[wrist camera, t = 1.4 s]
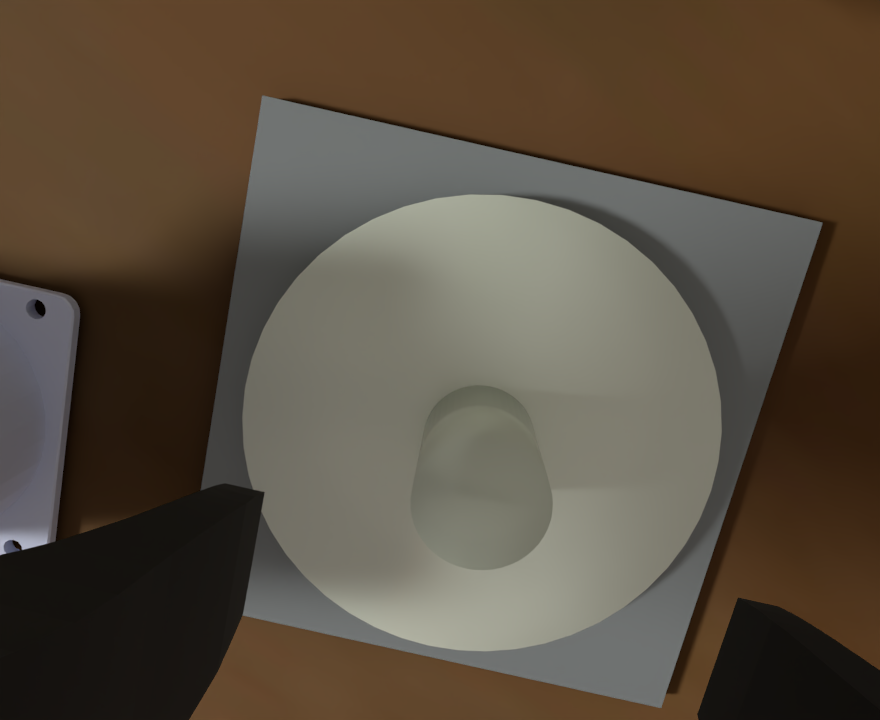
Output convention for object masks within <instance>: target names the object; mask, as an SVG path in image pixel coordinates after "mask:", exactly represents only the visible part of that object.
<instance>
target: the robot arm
mask: <svg viewBox="0 0 880 720" xmlns="http://www.w3.org/2000/svg"><path fill="white" fill-rule="evenodd" d="M36 300H39V301H41V302H42V303H43V304H44V306H45V309H46V313H45V315H44V317H43V316H41V315H39V314H38V313H37V311H36V309H35V303H36ZM79 323H80V308H79V306H78V304H77V302H76V301H75V300H74V299H73V298H72V297H71V296H69V295H67V294H64V293H60V292H56V291H51V290H47V289H42V288H38V287H34V286H29V285H25V284H20V283H16V282H11V281H7V280H2V279H0V720H189V719H190V717H191V715H192V714H193V712H194V710H195V709H196V707H197V705H198V704H199V702H200V700H201V699H202V697H203V695H204V694H205V692H206V690H207V689H208V687H209V685H210V684H211V682H212V680H213V679H214V677H215V675H216V673H217V672H218V670H219V667H220V665H221V663H222V661H223V658H224V656H225V654H226V652H227V650H228V647H229V645H230V643H231V641H232V638H233V636H234V634H235V631H236V629H237V627H238V624H239V622H240V620H241V617H242V615H243V612H244V606H245V600H246V595H247V589H248V583H249V578H250V572H251V567H252V561H253V555H254V550H255V544H256V538H257V533H258V527H259V522H260V516H261V510H262V505H263V499H264V493H265V492H262V491H258V490H253V489H249V488H244V487H240V486H235V485H231V484H226V483H223V484H219V485H215V486H212V487H209V488H206V489H204V490H201V491H198V492H196V493H193V494H190V495H188V496H185V497H183V498H180V499H178V500H175V501H172V502H170V503H167V504H164V505H162V506H159V507H157V508H154V509H151V510H149V511H146V512H143V513H141V514H138V515H135V516H133V517H130V518H127V519H124V520H121V521H118V522H115V523H112V524H109V525H106V526H103V527H99V528H96V529H93V530H90V531H87V532H84V533H81V534H78V535H75V536H72V537H69V538H66V539H62V540H58V541H55V540H56V531H57V522H58V513H59V504H60V495H61V486H62V477H63V468H64V459H65V450H66V441H67V432H68V422H69V413H70V404H71V395H72V386H73V377H74V368H75V359H76V350H77V341H78V332H79ZM12 540H15V541H17V542H19V544H20V545H21V547H22V550H19V549H17V548H16V547H15V546H14V545H13V541H12ZM697 715H698V719H699V720H880V670H878V669H877V668H875V667H874V666H872V665H871V664H870V663H868V662H867V661H865V660H864V659H862V658H861V657H859V656H858V655H856V654H855V653H853V652H852V651H850V650H849V649H847V648H846V647H845V646H843V645H842V644H840V643H839V642H837V641H836V640H834V639H833V638H831V637H830V636H828V635H827V634H825V633H823V632H822V631H820V630H819V629H817V628H816V627H814V626H812V625H811V624H809V623H808V622H806V621H804V620H803V619H801V618H799V617H797V616H796V615H794V614H792V613H790V612H788V611H786V610H784V609H782V608H780V607H778V606H773V605H769V604H764V603H760V602H755V601H751V600H746V599H742V598H738V599H737V602H736V605H735V608H734V611H733V614H732V617H731V619H730V622H729V625H728V628H727V631H726V634H725V637H724V640H723V642H722V645H721V648H720V651H719V654H718V657H717V660H716V663H715V666H714V668H713V671H712V674H711V677H710V680H709V683H708V686H707V689H706V691H705V694H704V697H703V700H702V703H701V706H700V709H699V712H698V714H697Z"/></svg>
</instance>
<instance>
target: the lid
mask: <svg viewBox="0 0 880 720" xmlns="http://www.w3.org/2000/svg"><path fill="white" fill-rule="evenodd" d="M242 423H243V446H244V452H245V458H246V463H247V469H248V474H249V478H250V481H251V484H252V487H253V490H258V491H262V492H265V493H264V499H263V505H262V510H261V512H262V514H263V516H264V518H265V520H266V522H267V524H268V526H269V528H270V530H271V532H272V533H273V535H274V537H275V538H276V540H277V541H278V543H279V544H280V546H281V547H282V549H283V551H284V552H285V554H286V555H287V556H288V557H289V558H290V560H291V561H292V562H293V563H294V564H295V566H296V567H297V568H298V569H299V570H300V572H301V573H302V574H303V575H304V576H305V577H306V578H307V579H308V580H309V581H310V582H311V583H312V584H313V585H314V586H315V587H316V588H318V589H319V590H320V591H321V592H322V593H323V594H324V595H325V596H326V597H328V598H329V599H330V600H332V601H333V602H335V603H336V604H337V605H339V606H340V607H341V608H343V609H344V610H346V611H347V612H348V613H350V614H352V615H354V616H355V617H357V618H359V619H361V620H363V621H364V622H366V623H368V624H370V625H372V626H373V627H376V628H378V629H380V630H383V631H385V632H388V633H390V634H393V635H395V636H397V637H400V638H403V639H407V640H410V641H414V642H417V643H421V644H425V645H428V646H434V647H440V648H447V649H453V650H464V651H499V650H512V649H519V648H525V647H530V646H535V645H540V644H545V643H548V642H551V641H554V640H557V639H560V638H564V637H567V636H570V635H573V634H575V633H577V632H579V631H582V630H584V629H586V628H588V627H590V626H593V625H595V624H597V623H599V622H601V621H602V620H604V619H606V618H607V617H609V616H611V615H612V614H614V613H615V612H617V611H619V610H620V609H622V608H624V607H625V606H626V605H627V604H629V603H630V602H631V601H632V600H634V599H635V598H636V597H638V596H639V595H640V594H641V593H643V592H644V591H645V590H646V589H647V588H648V587H649V586H650V585H651V584H652V583H653V582H654V581H655V580H656V579H657V578H658V577H659V576H660V575H661V574H662V573H663V572H664V571H665V570H666V569H667V568H668V567H669V565H670V564H671V563H672V561H673V560H674V559H675V557H676V556H677V555H678V553H679V552H680V551H681V549H682V548H683V547H684V545H685V544H686V542H687V541H688V539H689V537H690V535H691V534H692V532H693V530H694V528H695V526H696V525H697V523H698V521H699V519H700V517H701V515H702V512H703V510H704V507H705V505H706V502H707V500H708V497H709V495H710V492H711V489H712V485H713V482H714V478H715V474H716V470H717V466H718V462H719V452H720V443H721V434H722V423H721V399H720V393H719V388H718V382H717V376H716V370H715V367H714V364H713V361H712V358H711V355H710V352H709V349H708V346H707V343H706V340H705V338H704V336H703V334H702V332H701V330H700V328H699V326H698V324H697V322H696V319H695V317H694V315H693V313H692V312H691V310H690V309H689V307H688V306H687V304H686V303H685V301H684V300H683V298H682V297H681V295H680V294H679V292H678V291H677V289H676V288H675V286H674V285H673V284H672V283H671V282H670V281H669V280H668V279H667V278H666V276H665V275H664V274H663V273H662V272H661V271H660V270H659V269H658V268H657V266H656V265H655V264H654V263H653V262H652V261H651V260H649V259H648V258H647V257H646V256H645V255H643V254H642V253H641V252H640V251H639V250H638V249H636V248H635V247H634V246H633V245H632V244H630V243H629V242H628V241H627V240H625V239H623V238H622V237H620V236H619V235H617V234H615V233H614V232H612V231H611V230H609V229H607V228H606V227H604V226H603V225H601V224H599V223H597V222H595V221H593V220H591V219H588V218H586V217H584V216H582V215H580V214H577V213H575V212H573V211H571V210H568V209H565V208H561V207H558V206H555V205H551V204H548V203H544V202H541V201H538V200H532V199H526V198H519V197H513V196H506V195H473V194H469V195H461V196H452V197H443V198H436V199H432V200H428V201H424V202H420V203H416V204H412V205H408V206H404V207H402V208H399V209H397V210H394V211H392V212H389V213H387V214H384V215H382V216H379V217H377V218H374V219H372V220H370V221H369V222H367V223H365V224H363V225H362V226H360V227H358V228H356V229H355V230H353V231H351V232H349V233H348V234H346V235H344V236H343V237H342V238H340V239H339V240H338V241H337V242H335V243H334V244H333V245H331V246H330V247H329V248H327V249H326V250H325V251H323V252H322V253H321V254H320V255H318V256H317V257H316V259H315V260H314V261H313V262H312V263H311V264H310V265H309V266H308V267H307V268H306V269H305V270H304V271H303V272H302V273H301V274H300V275H299V276H298V277H297V278H296V279H295V280H294V282H293V283H292V284H291V286H290V287H289V288H288V290H287V291H286V292H285V294H284V295H283V296H282V298H281V299H280V300H279V302H278V303H277V305H276V307H275V309H274V311H273V312H272V314H271V316H270V318H269V320H268V321H267V323H266V325H265V327H264V329H263V331H262V333H261V336H260V338H259V341H258V344H257V346H256V349H255V351H254V354H253V357H252V360H251V364H250V368H249V373H248V377H247V381H246V385H245V393H244V404H243V415H242Z"/></svg>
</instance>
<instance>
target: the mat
mask: <svg viewBox="0 0 880 720" xmlns="http://www.w3.org/2000/svg"><path fill="white" fill-rule="evenodd" d="M469 194H473V195H506V196H513V197H519V198H526V199H532V200H538V201H541V202H544V203H548V204H551V205H555V206H558V207H561V208H565V209H568V210H571V211H573V212H575V213H577V214H580V215H582V216H584V217H586V218H588V219H591V220H593V221H595V222H597V223H599V224H601V225H603V226H604V227H606V228H607V229H609V230H611V231H612V232H614V233H615V234H617V235H619V236H620V237H622V238H623V239H625V240H627V241H628V242H629V243H630V244H632V245H633V246H634V247H635V248H636V249H638V250H639V251H640V252H641V253H642V254H643V255H645V256H646V257H647V258H648V259H649V260H651V261H652V262H653V263H654V264H655V265H656V266H657V268H658V269H659V270H660V271H661V272H662V273H663V274H664V275H665V276H666V278H667V279H668V280H669V281H670V282H671V283H672V284H673V285H674V286H675V288H676V289H677V291H678V292H679V294H680V295H681V297H682V298H683V300H684V301H685V303H686V304H687V306H688V307H689V309H690V310H691V312H692V313H693V315H694V317H695V319H696V322H697V324H698V326H699V328H700V330H701V332H702V334H703V336H704V338H705V340H706V343H707V346H708V349H709V352H710V355H711V358H712V361H713V364H714V367H715V370H716V376H717V382H718V388H719V393H720V399H721V423H722V434H721V443H720V452H719V462H718V466H717V470H716V474H715V478H714V482H713V485H712V489H711V492H710V495H709V497H708V500H707V502H706V505H705V507H704V510H703V512H702V515H701V517H700V519H699V521H698V523H697V525H696V526H695V528H694V530H693V532H692V534H691V535H690V537H689V539H688V541H687V542H686V544H685V545H684V547H683V548H682V549H681V551H680V552H679V553H678V555H677V556H676V557H675V559H674V560H673V561H672V563H671V564H670V565H669V567H668V568H667V569H666V570H665V571H664V572H663V573H662V574H661V575H660V576H659V577H658V578H657V579H656V580H655V581H654V582H653V583H652V584H651V585H650V586H649V587H648V588H647V589H646V590H645V591H644V592H643V593H641V594H640V595H639V596H638V597H636V598H635V599H634V600H632V601H631V602H630V603H629V604H627V605H626V606H625V607H624V608H622V609H620V610H619V611H617V612H615V613H614V614H612V615H611V616H609V617H607V618H606V619H604V620H602V621H601V622H599V623H597V624H595V625H593V626H590V627H588V628H586V629H584V630H582V631H579V632H577V633H575V634H573V635H570V636H567V637H564V638H560V639H557V640H554V641H551V642H548V643H545V644H540V645H535V646H530V647H525V648H519V649H512V650H499V651H464V650H453V649H447V648H440V647H434V646H428V645H425V644H421V643H417V642H414V641H410V640H407V639H403V638H400V637H397V636H395V635H393V634H390V633H388V632H385V631H383V630H380V629H378V628H376V627H373V626H372V625H370V624H368V623H366V622H364V621H363V620H361V619H359V618H357V617H355V616H354V615H352V614H350V613H348V612H347V611H346V610H344V609H343V608H341V607H340V606H339V605H337V604H336V603H335V602H333V601H332V600H330V599H329V598H328V597H326V596H325V595H324V594H323V593H322V592H321V591H320V590H319V589H318V588H316V587H315V586H314V585H313V584H312V583H311V582H310V581H309V580H308V579H307V578H306V577H305V576H304V575H303V574H302V573H301V572H300V570H299V569H298V568H297V567H296V566H295V564H294V563H293V562H292V561H291V560H290V558H289V557H288V556H287V555H286V554H285V552H284V551H283V549H282V547H281V546H280V544H279V543H278V541H277V540H276V538H275V537H274V535H273V533H272V532H271V530H270V528H269V526H268V524H267V522H266V520H265V518H264V516H263V514H262V512H261V516H260V522H259V527H258V533H257V538H256V544H255V550H254V555H253V561H252V567H251V572H250V578H249V583H248V589H247V595H246V600H245V606H244V612H243V616H248V617H252V618H257V619H261V620H266V621H270V622H275V623H279V624H284V625H288V626H293V627H297V628H302V629H306V630H311V631H315V632H320V633H324V634H329V635H334V636H338V637H343V638H347V639H352V640H356V641H361V642H365V643H370V644H374V645H379V646H383V647H388V648H392V649H397V650H401V651H406V652H410V653H415V654H419V655H424V656H428V657H433V658H437V659H442V660H446V661H451V662H455V663H460V664H465V665H469V666H474V667H478V668H483V669H487V670H492V671H496V672H501V673H505V674H510V675H514V676H519V677H523V678H528V679H532V680H537V681H541V682H546V683H550V684H555V685H559V686H564V687H568V688H573V689H577V690H582V691H586V692H591V693H595V694H600V695H605V696H609V697H614V698H618V699H623V700H627V701H632V702H636V703H641V704H645V705H650V706H654V707H659V708H661V707H662V704H663V701H664V698H665V695H666V692H667V689H668V686H669V683H670V680H671V677H672V674H673V671H674V668H675V665H676V662H677V659H678V656H679V653H680V650H681V647H682V644H683V641H684V638H685V635H686V632H687V629H688V626H689V623H690V620H691V617H692V614H693V611H694V608H695V605H696V602H697V599H698V596H699V593H700V590H701V587H702V584H703V581H704V578H705V575H706V572H707V569H708V566H709V563H710V560H711V557H712V554H713V551H714V548H715V545H716V542H717V539H718V536H719V533H720V530H721V527H722V524H723V521H724V518H725V515H726V512H727V509H728V506H729V503H730V500H731V497H732V494H733V491H734V488H735V485H736V482H737V479H738V476H739V473H740V470H741V467H742V464H743V461H744V458H745V455H746V452H747V449H748V446H749V443H750V440H751V437H752V434H753V431H754V428H755V425H756V422H757V419H758V416H759V413H760V410H761V407H762V404H763V401H764V398H765V395H766V392H767V389H768V386H769V383H770V380H771V377H772V374H773V371H774V368H775V365H776V362H777V359H778V356H779V353H780V350H781V347H782V344H783V341H784V338H785V335H786V332H787V329H788V326H789V323H790V320H791V317H792V314H793V311H794V308H795V305H796V302H797V299H798V296H799V293H800V290H801V287H802V284H803V281H804V278H805V275H806V272H807V269H808V266H809V263H810V260H811V257H812V254H813V251H814V248H815V245H816V242H817V239H818V236H819V233H820V230H821V227H822V224H823V223H822V222H818V221H814V220H809V219H805V218H800V217H796V216H792V215H787V214H783V213H778V212H774V211H770V210H765V209H761V208H756V207H752V206H748V205H743V204H739V203H734V202H730V201H725V200H721V199H717V198H712V197H708V196H703V195H699V194H695V193H690V192H686V191H681V190H677V189H673V188H668V187H664V186H659V185H655V184H651V183H646V182H642V181H637V180H633V179H628V178H624V177H620V176H615V175H611V174H606V173H602V172H598V171H593V170H589V169H584V168H580V167H576V166H571V165H567V164H562V163H558V162H554V161H549V160H545V159H540V158H536V157H531V156H527V155H523V154H518V153H514V152H509V151H505V150H501V149H496V148H492V147H487V146H483V145H479V144H474V143H470V142H465V141H461V140H457V139H452V138H448V137H443V136H439V135H434V134H430V133H426V132H421V131H417V130H412V129H408V128H404V127H399V126H395V125H390V124H386V123H382V122H377V121H373V120H368V119H364V118H360V117H355V116H351V115H346V114H342V113H337V112H333V111H329V110H324V109H320V108H315V107H311V106H307V105H302V104H298V103H293V102H289V101H285V100H280V99H276V98H271V97H267V96H263V95H262V102H261V108H260V114H259V121H258V127H257V134H256V140H255V146H254V153H253V159H252V166H251V172H250V178H249V185H248V191H247V198H246V204H245V210H244V217H243V223H242V229H241V236H240V242H239V249H238V255H237V261H236V268H235V274H234V281H233V287H232V293H231V300H230V306H229V313H228V319H227V325H226V332H225V338H224V344H223V351H222V357H221V364H220V370H219V376H218V383H217V389H216V396H215V402H214V408H213V415H212V421H211V428H210V434H209V440H208V447H207V453H206V459H205V466H204V472H203V479H202V485H201V490H204V489H206V488H209V487H212V486H215V485H219V484H223V483H226V484H231V485H235V486H240V487H244V488H249V489H253V487H252V484H251V481H250V478H249V474H248V469H247V463H246V458H245V452H244V446H243V423H242V415H243V404H244V393H245V385H246V381H247V377H248V373H249V368H250V364H251V360H252V357H253V354H254V351H255V349H256V346H257V344H258V341H259V338H260V336H261V333H262V331H263V329H264V327H265V325H266V323H267V321H268V320H269V318H270V316H271V314H272V312H273V311H274V309H275V307H276V305H277V303H278V302H279V300H280V299H281V298H282V296H283V295H284V294H285V292H286V291H287V290H288V288H289V287H290V286H291V284H292V283H293V282H294V280H295V279H296V278H297V277H298V276H299V275H300V274H301V273H302V272H303V271H304V270H305V269H306V268H307V267H308V266H309V265H310V264H311V263H312V262H313V261H314V260H315V259H316V257H317V256H318V255H320V254H321V253H322V252H323V251H325V250H326V249H327V248H329V247H330V246H331V245H333V244H334V243H335V242H337V241H338V240H339V239H340V238H342V237H343V236H344V235H346V234H348V233H349V232H351V231H353V230H355V229H356V228H358V227H360V226H362V225H363V224H365V223H367V222H369V221H370V220H372V219H374V218H377V217H379V216H382V215H384V214H387V213H389V212H392V211H394V210H397V209H399V208H402V207H404V206H408V205H412V204H416V203H420V202H424V201H428V200H432V199H436V198H443V197H452V196H461V195H469Z"/></svg>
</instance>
